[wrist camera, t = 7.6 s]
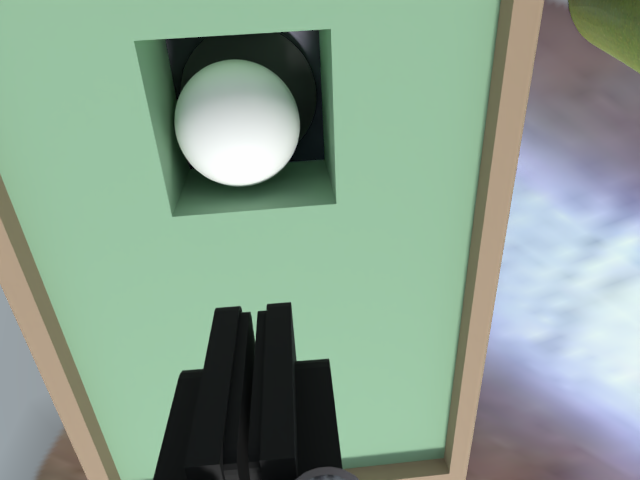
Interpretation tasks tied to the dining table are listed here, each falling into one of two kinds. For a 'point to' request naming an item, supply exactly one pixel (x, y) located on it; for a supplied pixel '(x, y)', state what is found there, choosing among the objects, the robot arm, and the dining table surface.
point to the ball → (237, 123)
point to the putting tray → (263, 213)
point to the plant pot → (610, 27)
